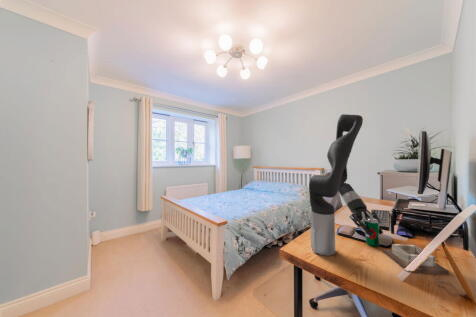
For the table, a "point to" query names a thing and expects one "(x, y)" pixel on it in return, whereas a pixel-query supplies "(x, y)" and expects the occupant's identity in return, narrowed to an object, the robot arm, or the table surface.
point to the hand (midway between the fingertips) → (376, 234)
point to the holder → (409, 252)
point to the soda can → (374, 227)
